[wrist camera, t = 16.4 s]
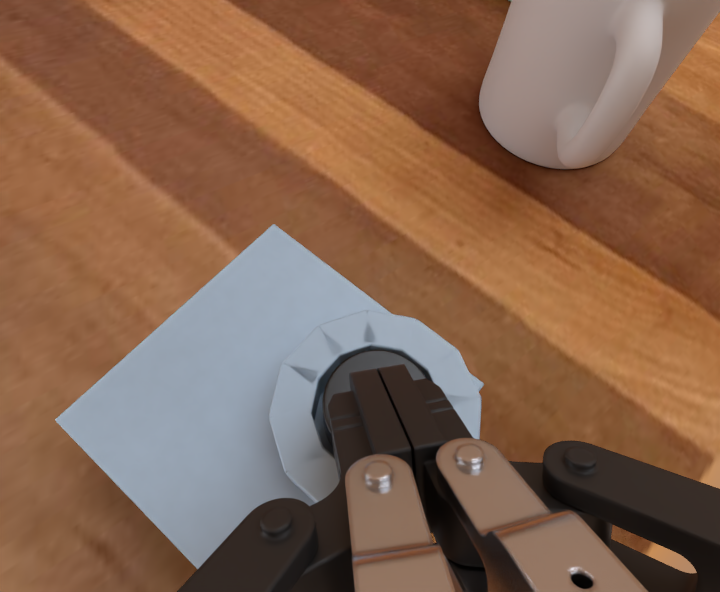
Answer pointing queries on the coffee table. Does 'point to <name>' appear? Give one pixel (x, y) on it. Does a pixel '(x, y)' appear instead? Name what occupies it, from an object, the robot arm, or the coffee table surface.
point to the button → (359, 363)
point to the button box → (246, 393)
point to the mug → (583, 73)
